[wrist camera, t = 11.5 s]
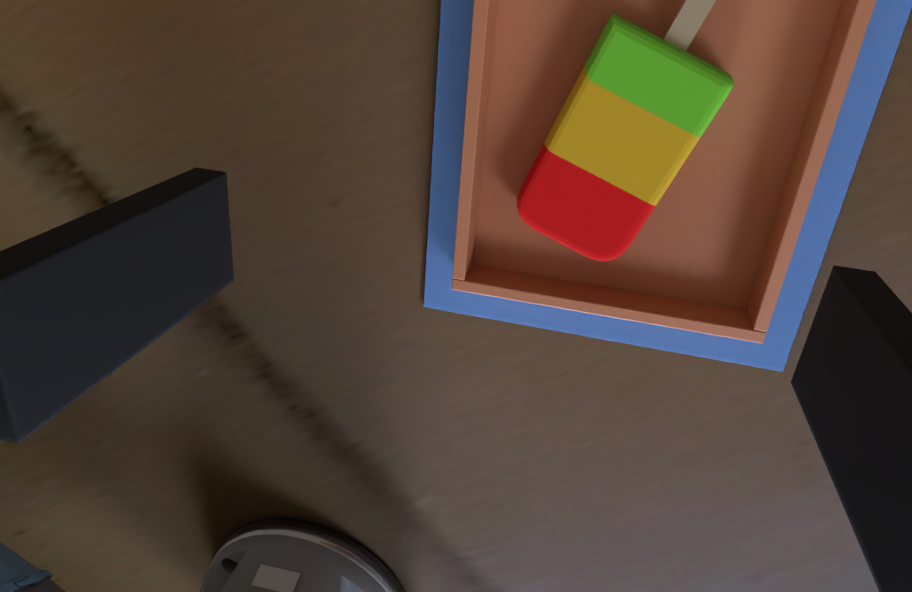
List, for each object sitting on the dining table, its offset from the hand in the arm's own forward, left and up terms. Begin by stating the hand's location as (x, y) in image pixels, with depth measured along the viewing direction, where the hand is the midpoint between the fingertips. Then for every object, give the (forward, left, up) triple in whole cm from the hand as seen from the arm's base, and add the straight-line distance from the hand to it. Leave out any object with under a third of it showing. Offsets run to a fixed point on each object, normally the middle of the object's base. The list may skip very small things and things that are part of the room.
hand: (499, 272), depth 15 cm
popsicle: (+2, -3, -17) cm, 17 cm away
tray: (+2, -3, -17) cm, 18 cm away
